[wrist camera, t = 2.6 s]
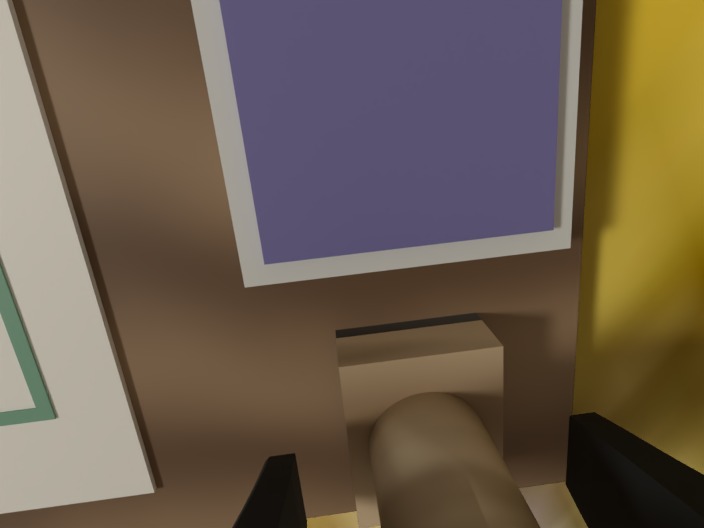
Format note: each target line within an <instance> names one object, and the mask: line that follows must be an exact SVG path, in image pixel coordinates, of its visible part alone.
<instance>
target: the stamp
mask: <svg viewBox="0 0 704 528" xmlns="http://www.w3.org/2000/svg"><path fill="white" fill-rule="evenodd" d="M335 332H336V343H337V355H338V366H339V374H340V382H341V390H342V398H343V406H344V414H345V422H346V430H347V438H348V446H349V453H350V461H351V469H352V477H353V485H354V493H355V501H356V509H357V517H358V525H359V528H365V527H372V526H379V525H381V528H540V526H539V524H538V523H537V521H536V519H535V517H534V515H533V514H532V512H531V510H530V508H529V506H528V504H527V503H526V501H525V499H524V497H523V495H522V493H521V492H520V490H519V488H518V486H517V484H516V482H515V481H514V479H513V477H512V475H511V473H510V471H509V470H508V468H507V466H506V464H505V462H504V460H503V345H502V344H501V343H500V341H499V340H498V339H497V338H496V337H495V335H494V334H493V333H492V332H491V330H490V329H489V328H488V327H487V326H486V324H485V323H484V322H483V321H482V320H481V318H480V317H479V316H478V315H477V313H469V314H461V315H453V316H445V317H437V318H429V319H421V320H413V321H405V322H397V323H389V324H381V325H373V326H365V327H357V328H349V329H341V330H335Z"/></svg>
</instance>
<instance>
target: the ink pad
mask: <svg viewBox="0 0 704 528" xmlns="http://www.w3.org/2000/svg"><path fill="white" fill-rule="evenodd" d="M191 5H192V10H193V15H194V21H195V26H196V31H197V37H198V42H199V47H200V53H201V58H202V63H203V69H204V74H205V79H206V84H207V90H208V95H209V100H210V106H211V111H212V116H213V122H214V127H215V132H216V138H217V143H218V148H219V154H220V159H221V164H222V170H223V175H224V180H225V185H226V191H227V196H228V201H229V207H230V212H231V217H232V223H233V228H234V233H235V239H236V244H237V249H238V255H239V260H240V265H241V270H242V276H243V281H244V286H245V288H246V287H254V286H262V285H270V284H279V283H287V282H295V281H303V280H312V279H320V278H328V277H336V276H345V275H353V274H361V273H369V272H378V271H386V270H394V269H402V268H411V267H419V266H427V265H435V264H444V263H452V262H460V261H468V260H477V259H485V258H493V257H501V256H510V255H518V254H526V253H534V252H543V251H551V250H559V249H567V248H571V229H572V209H573V189H574V169H575V149H576V129H577V109H578V89H579V69H580V49H581V29H582V8H583V0H191Z"/></svg>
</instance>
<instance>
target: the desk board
mask: <svg viewBox="0 0 704 528" xmlns="http://www.w3.org/2000/svg"><path fill="white" fill-rule="evenodd" d="M12 1H13V5H14V8H15V12H16V15H17V18H18V22H19V25H20V28H21V32H22V35H23V39H24V42H25V45H26V49H27V52H28V55H29V59H30V62H31V66H32V69H33V72H34V76H35V79H36V82H37V86H38V89H39V92H40V96H41V99H42V103H43V106H44V109H45V113H46V116H47V119H48V123H49V126H50V130H51V133H52V136H53V140H54V143H55V146H56V150H57V153H58V157H59V160H60V163H61V167H62V170H63V173H64V177H65V180H66V184H67V187H68V190H69V194H70V197H71V200H72V204H73V207H74V211H75V214H76V217H77V221H78V224H79V227H80V231H81V234H82V238H83V241H84V244H85V248H86V251H87V254H88V258H89V261H90V264H91V268H92V271H93V275H94V278H95V281H96V285H97V288H98V291H99V295H100V298H101V302H102V305H103V308H104V312H105V315H106V318H107V322H108V325H109V329H110V332H111V335H112V339H113V342H114V345H115V349H116V352H117V356H118V359H119V362H120V366H121V369H122V372H123V376H124V379H125V383H126V386H127V389H128V393H129V396H130V399H131V403H132V406H133V410H134V413H135V416H136V420H137V423H138V426H139V430H140V433H141V436H142V440H143V443H144V447H145V450H146V453H147V457H148V460H149V463H150V467H151V470H152V474H153V477H154V480H155V484H156V487H157V488H156V490H155V493H149V494H141V495H134V496H127V497H120V498H112V499H105V500H98V501H90V502H83V503H76V504H69V505H61V506H54V507H47V508H40V509H32V510H25V511H18V512H11V513H3V514H0V528H232V527H233V525H234V523H235V522H236V520H237V518H238V516H239V514H240V512H241V511H242V509H243V507H244V505H245V503H246V501H247V499H248V497H249V495H250V493H251V491H252V489H253V487H254V485H255V483H256V481H257V479H258V477H259V474H260V472H261V470H262V468H263V465H264V463H265V461H266V460H267V459H268V458H269V457H270V456H277V455H284V454H292V453H295V455H296V461H297V466H298V472H299V478H300V484H301V490H302V495H303V501H304V507H305V513H306V518H311V517H318V516H325V515H332V514H339V513H346V512H353V511H357V509H356V501H355V493H354V485H353V477H352V469H351V461H350V453H349V446H348V438H347V430H346V422H345V414H344V406H343V398H342V390H341V382H340V374H339V366H338V355H337V343H336V332H335V330H341V329H349V328H357V327H365V326H373V325H381V324H389V323H397V322H405V321H413V320H421V319H429V318H437V317H445V316H453V315H461V314H469V313H477V315H478V316H479V317H480V318H481V320H482V321H483V322H484V323H485V324H486V326H487V327H488V328H489V329H490V330H491V332H492V333H493V334H494V335H495V337H496V338H497V339H498V340H499V341H500V343H501V344H502V345H503V460H504V462H505V464H506V466H507V468H508V470H509V471H510V473H511V475H512V477H513V479H514V481H515V482H516V484H517V486H518V488H523V487H530V486H537V485H544V484H551V483H558V482H565V481H566V468H567V450H568V432H569V416H571V415H572V410H573V393H574V376H575V359H576V341H577V324H578V307H579V290H580V273H581V255H582V238H583V221H584V204H585V187H586V169H587V152H588V135H589V118H590V100H591V83H592V66H593V49H594V32H595V14H596V0H583V8H582V29H581V49H580V69H579V89H578V109H577V129H576V149H575V169H574V189H573V209H572V229H571V248H567V249H559V250H551V251H543V252H534V253H526V254H518V255H510V256H501V257H493V258H485V259H477V260H468V261H460V262H452V263H444V264H435V265H427V266H419V267H411V268H402V269H394V270H386V271H378V272H369V273H361V274H353V275H345V276H336V277H328V278H320V279H312V280H303V281H295V282H287V283H279V284H270V285H262V286H254V287H246V288H245V286H244V281H243V276H242V270H241V265H240V260H239V255H238V249H237V244H236V239H235V233H234V228H233V223H232V217H231V212H230V207H229V201H228V196H227V191H226V185H225V180H224V175H223V170H222V164H221V159H220V154H219V148H218V143H217V138H216V132H215V127H214V122H213V116H212V111H211V106H210V100H209V95H208V90H207V84H206V79H205V74H204V69H203V63H202V58H201V53H200V47H199V42H198V37H197V31H196V26H195V21H194V15H193V10H192V5H191V0H12Z"/></svg>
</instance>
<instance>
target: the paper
mask: <svg viewBox="0 0 704 528" xmlns="http://www.w3.org/2000/svg"><path fill="white" fill-rule="evenodd" d="M156 488H157V487H156V484H155V480H154V477H153V474H152V470H151V467H150V463H149V460H148V457H147V453H146V450H145V447H144V443H143V440H142V436H141V433H140V430H139V426H138V423H137V420H136V416H135V413H134V410H133V406H132V403H131V399H130V396H129V393H128V389H127V386H126V383H125V379H124V376H123V372H122V369H121V366H120V362H119V359H118V356H117V352H116V349H115V345H114V342H113V339H112V335H111V332H110V329H109V325H108V322H107V318H106V315H105V312H104V308H103V305H102V302H101V298H100V295H99V291H98V288H97V285H96V281H95V278H94V275H93V271H92V268H91V264H90V261H89V258H88V254H87V251H86V248H85V244H84V241H83V238H82V234H81V231H80V227H79V224H78V221H77V217H76V214H75V211H74V207H73V204H72V200H71V197H70V194H69V190H68V187H67V184H66V180H65V177H64V173H63V170H62V167H61V163H60V160H59V157H58V153H57V150H56V146H55V143H54V140H53V136H52V133H51V130H50V126H49V123H48V119H47V116H46V113H45V109H44V106H43V103H42V99H41V96H40V92H39V89H38V86H37V82H36V79H35V76H34V72H33V69H32V66H31V62H30V59H29V55H28V52H27V49H26V45H25V42H24V39H23V35H22V32H21V28H20V25H19V22H18V18H17V15H16V12H15V8H14V5H13V1H12V0H0V514H3V513H11V512H18V511H25V510H32V509H40V508H47V507H54V506H61V505H69V504H76V503H83V502H90V501H98V500H105V499H112V498H120V497H127V496H134V495H141V494H149V493H155V490H156Z"/></svg>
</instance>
